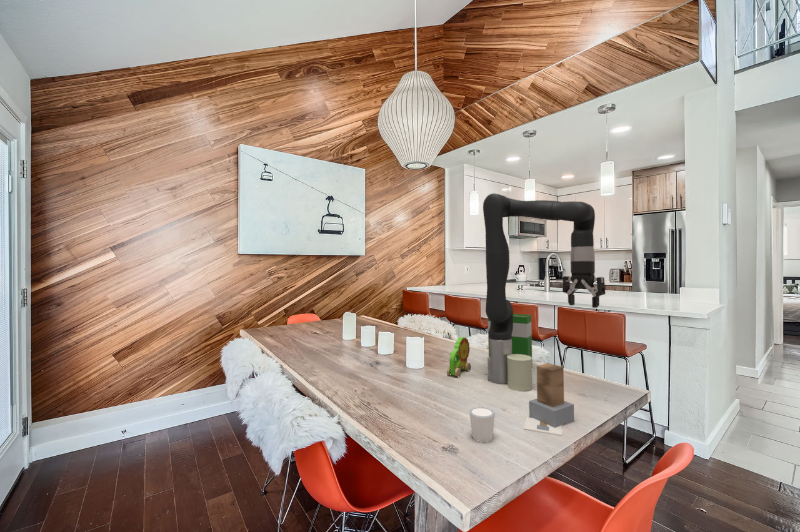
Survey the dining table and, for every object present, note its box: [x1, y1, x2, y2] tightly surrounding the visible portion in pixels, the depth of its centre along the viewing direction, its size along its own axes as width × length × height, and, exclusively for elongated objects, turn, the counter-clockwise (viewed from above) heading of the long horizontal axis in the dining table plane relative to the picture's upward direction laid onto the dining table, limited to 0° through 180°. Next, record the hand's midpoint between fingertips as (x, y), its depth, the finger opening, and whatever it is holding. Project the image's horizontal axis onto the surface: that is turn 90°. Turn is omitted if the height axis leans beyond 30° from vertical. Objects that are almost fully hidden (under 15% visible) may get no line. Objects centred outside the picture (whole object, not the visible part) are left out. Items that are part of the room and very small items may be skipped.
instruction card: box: [523, 416, 563, 436], centre depth 103 cm, size 10×8×1 cm
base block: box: [528, 398, 575, 428], centre depth 108 cm, size 9×9×5 cm
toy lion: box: [446, 336, 472, 378], centre depth 155 cm, size 16×5×15 cm, turn 144°
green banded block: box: [487, 313, 533, 358], centre depth 161 cm, size 18×7×24 cm, turn 56°
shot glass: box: [468, 406, 495, 442], centre depth 98 cm, size 7×7×7 cm
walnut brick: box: [536, 362, 565, 407], centre depth 108 cm, size 5×5×11 cm
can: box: [506, 354, 534, 392], centre depth 135 cm, size 9×9×12 cm
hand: (583, 306), depth 123 cm, fingers open, 8 cm apart
